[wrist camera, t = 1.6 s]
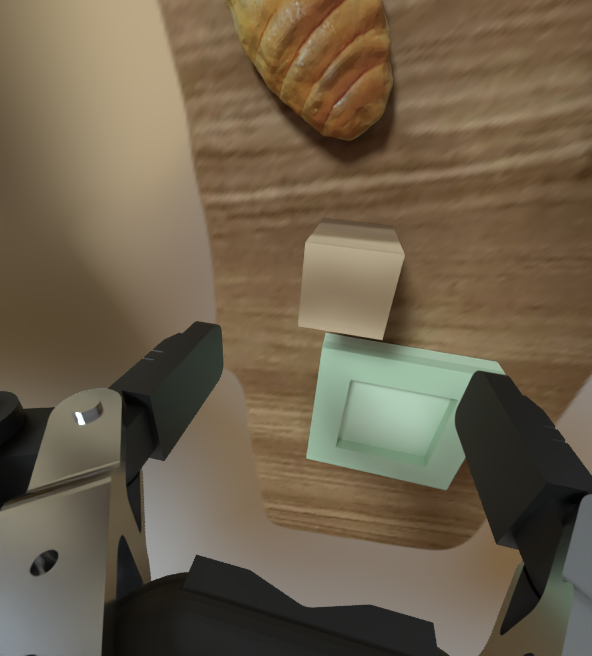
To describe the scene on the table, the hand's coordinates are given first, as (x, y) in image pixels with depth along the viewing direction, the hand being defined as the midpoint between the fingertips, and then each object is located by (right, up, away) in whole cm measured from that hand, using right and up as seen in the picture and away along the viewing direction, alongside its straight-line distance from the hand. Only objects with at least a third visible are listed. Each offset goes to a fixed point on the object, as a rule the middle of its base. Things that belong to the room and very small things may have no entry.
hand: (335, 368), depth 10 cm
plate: (+7, -6, +17) cm, 19 cm away
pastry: (0, +17, +6) cm, 18 cm away
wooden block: (+3, +6, +11) cm, 13 cm away
